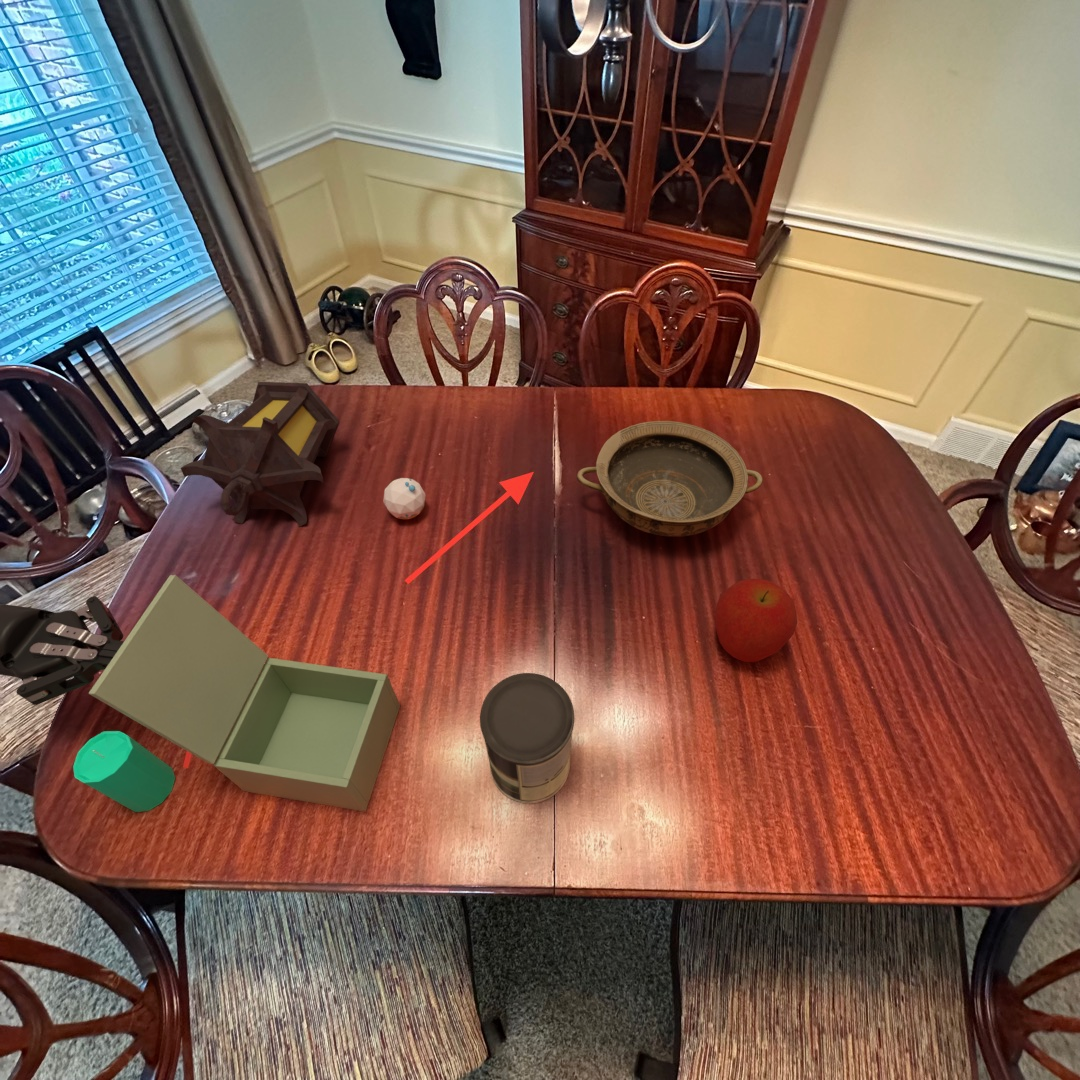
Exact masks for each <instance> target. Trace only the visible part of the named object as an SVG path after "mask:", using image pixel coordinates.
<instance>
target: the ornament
mask: <svg viewBox="0 0 1080 1080" xmlns="http://www.w3.org/2000/svg"><path fill="white" fill-rule="evenodd" d="M426 495H427V494H426V492H425V491H424V489H423V487H422V486H421V484H420V482H418V481H416V480H415V479H413V478H409V477H399V478H396V479H394V480H392V481H391V482H390V483H389V484H387V486H386V487H385V488H384V491H383V499H382V500H383V501H382V502H383V504H384V506H385V508H386V509H387V511H388V512H389V514H391V516H392V517H394V518H397V519H399V520H411V519H414V518H416V517H417V516H418V515H420V514H421V512H423V510H424V508H425V505H426Z"/></svg>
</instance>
